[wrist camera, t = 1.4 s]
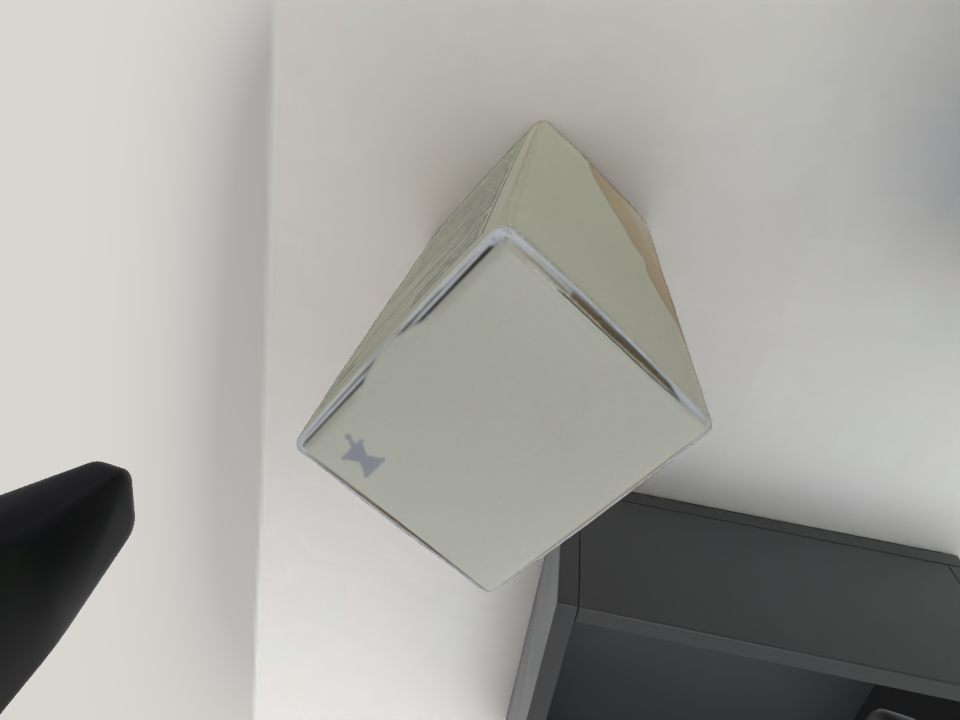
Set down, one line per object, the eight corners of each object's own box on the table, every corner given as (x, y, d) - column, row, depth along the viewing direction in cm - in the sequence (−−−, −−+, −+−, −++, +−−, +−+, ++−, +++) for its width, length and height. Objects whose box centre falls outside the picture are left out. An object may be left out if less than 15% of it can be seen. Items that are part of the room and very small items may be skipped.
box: (527, 337, 22) (475, 611, 12) (422, 242, 21) (273, 456, 11) (658, 217, 19) (727, 433, 10) (547, 105, 18) (500, 219, 9)
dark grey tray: (505, 721, 30) (488, 863, 25) (563, 478, 24) (556, 602, 19) (814, 789, 29) (860, 948, 24) (958, 555, 23) (1058, 705, 18)
